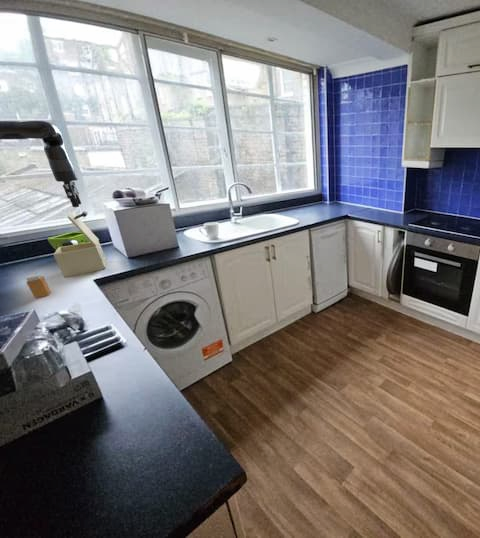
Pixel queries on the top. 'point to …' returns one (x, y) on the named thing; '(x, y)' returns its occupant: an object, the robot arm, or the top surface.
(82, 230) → the lid
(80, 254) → the bin
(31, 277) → the orange block
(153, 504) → the top surface
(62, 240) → the green angular block
